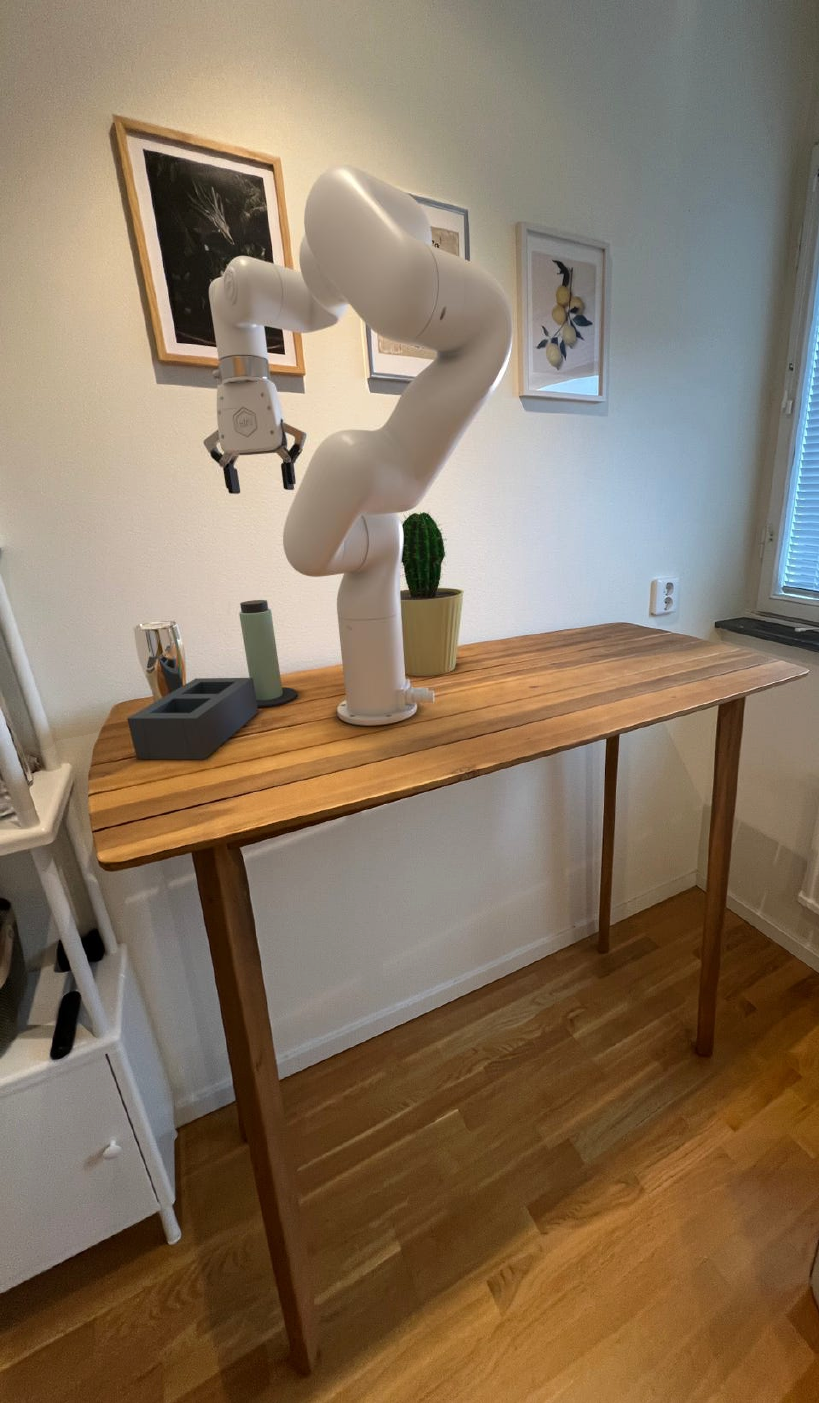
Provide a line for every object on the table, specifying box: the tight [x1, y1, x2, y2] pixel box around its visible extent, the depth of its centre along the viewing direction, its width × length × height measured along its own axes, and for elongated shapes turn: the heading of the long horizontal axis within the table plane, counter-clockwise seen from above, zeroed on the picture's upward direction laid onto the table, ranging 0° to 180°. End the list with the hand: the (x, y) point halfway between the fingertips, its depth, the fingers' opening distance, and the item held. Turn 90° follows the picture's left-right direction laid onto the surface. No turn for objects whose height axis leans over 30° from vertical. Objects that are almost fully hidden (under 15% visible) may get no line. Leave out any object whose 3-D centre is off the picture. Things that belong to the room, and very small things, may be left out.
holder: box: [126, 677, 259, 761], centre depth 82 cm, size 10×18×6 cm, turn 172°
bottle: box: [238, 599, 283, 700], centre depth 94 cm, size 5×5×16 cm
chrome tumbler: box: [133, 620, 187, 703], centre depth 90 cm, size 7×7×15 cm
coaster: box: [256, 686, 299, 709], centre depth 97 cm, size 10×10×1 cm
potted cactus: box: [400, 509, 464, 677], centre depth 105 cm, size 15×15×30 cm
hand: (261, 491), depth 92 cm, fingers open, 9 cm apart
